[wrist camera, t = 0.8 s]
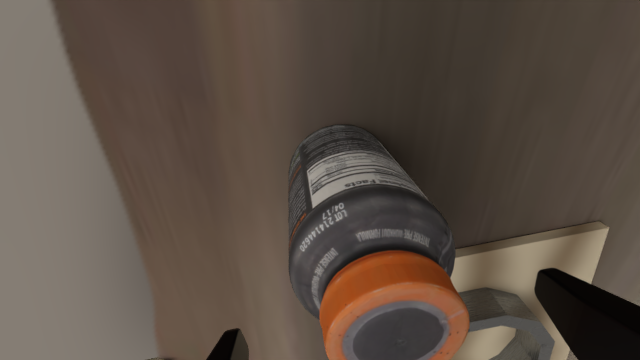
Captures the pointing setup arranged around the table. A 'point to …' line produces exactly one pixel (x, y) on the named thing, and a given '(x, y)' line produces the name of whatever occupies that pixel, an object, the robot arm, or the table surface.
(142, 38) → the table surface
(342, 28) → the table surface
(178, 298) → the table surface
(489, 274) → the ring holder
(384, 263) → the pill bottle
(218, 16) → the table surface
